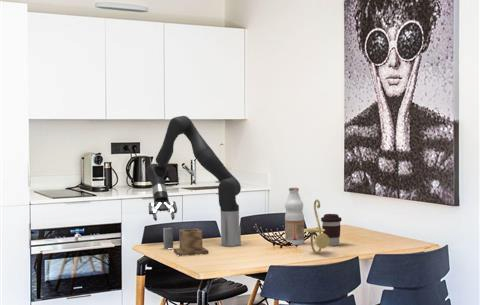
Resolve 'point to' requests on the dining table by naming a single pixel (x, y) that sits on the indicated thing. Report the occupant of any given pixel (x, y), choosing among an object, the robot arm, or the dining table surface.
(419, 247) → the dining table surface
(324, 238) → the wall sconce
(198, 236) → the wooden flanged block
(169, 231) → the grey upright cylinder
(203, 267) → the dining table surface
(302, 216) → the fruit juice
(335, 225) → the coffee cup
